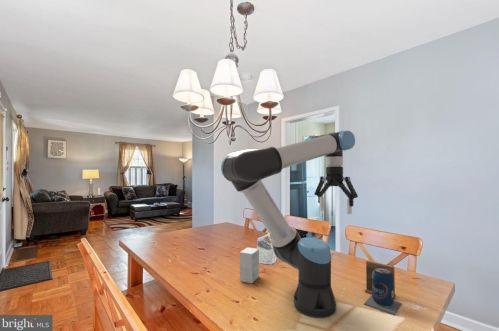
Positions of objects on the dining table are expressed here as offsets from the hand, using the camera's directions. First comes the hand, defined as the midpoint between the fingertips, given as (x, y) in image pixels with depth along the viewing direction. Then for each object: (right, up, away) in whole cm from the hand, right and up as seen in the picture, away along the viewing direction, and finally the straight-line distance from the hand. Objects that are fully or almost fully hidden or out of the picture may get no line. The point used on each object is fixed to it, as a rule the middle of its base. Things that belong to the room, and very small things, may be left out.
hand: (335, 212), depth 113 cm
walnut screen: (+13, -30, -15) cm, 36 cm away
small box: (-40, -31, -1) cm, 50 cm away
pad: (+10, -30, -22) cm, 39 cm away
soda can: (+10, -30, -22) cm, 38 cm away
